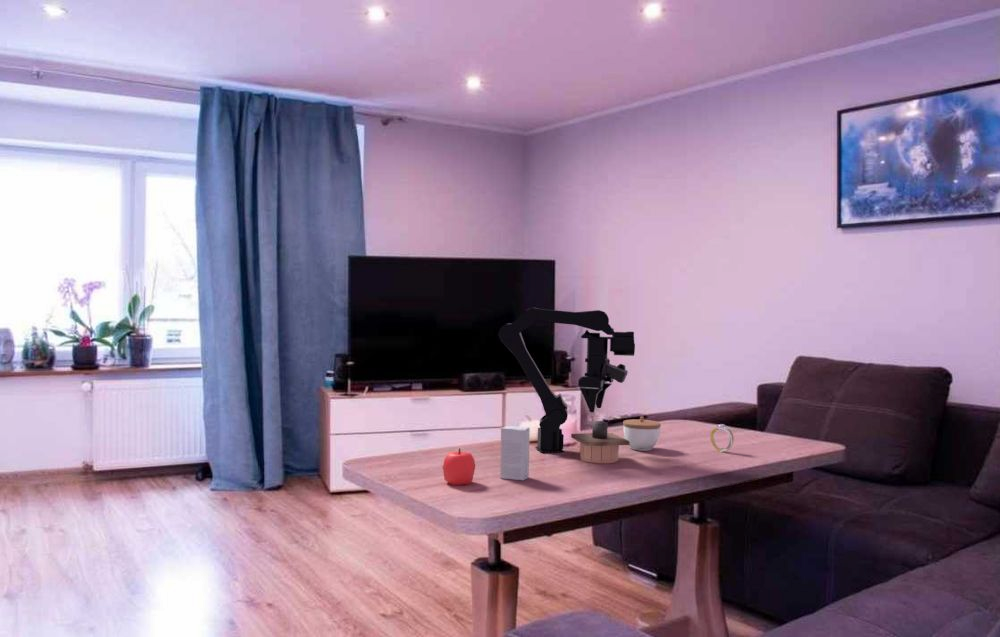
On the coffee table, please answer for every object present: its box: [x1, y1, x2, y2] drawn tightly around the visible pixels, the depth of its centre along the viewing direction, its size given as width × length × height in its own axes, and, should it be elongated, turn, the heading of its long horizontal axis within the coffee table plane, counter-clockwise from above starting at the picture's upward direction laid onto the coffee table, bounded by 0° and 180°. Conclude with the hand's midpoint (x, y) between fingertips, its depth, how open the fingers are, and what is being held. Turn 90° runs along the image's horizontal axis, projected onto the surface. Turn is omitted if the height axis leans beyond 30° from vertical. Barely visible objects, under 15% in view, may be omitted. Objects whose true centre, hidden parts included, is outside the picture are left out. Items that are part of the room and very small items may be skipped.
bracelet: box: [710, 423, 735, 453], centre depth 214 cm, size 7×3×8 cm, turn 35°
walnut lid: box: [570, 420, 629, 446], centre depth 199 cm, size 12×12×5 cm
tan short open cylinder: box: [579, 442, 620, 465], centre depth 199 cm, size 10×10×5 cm
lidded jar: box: [622, 416, 661, 452], centre depth 216 cm, size 11×11×9 cm
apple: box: [442, 447, 476, 486], centre depth 170 cm, size 8×8×8 cm
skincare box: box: [499, 425, 531, 481], centre depth 176 cm, size 6×4×12 cm
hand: (595, 410), depth 208 cm, fingers open, 9 cm apart
